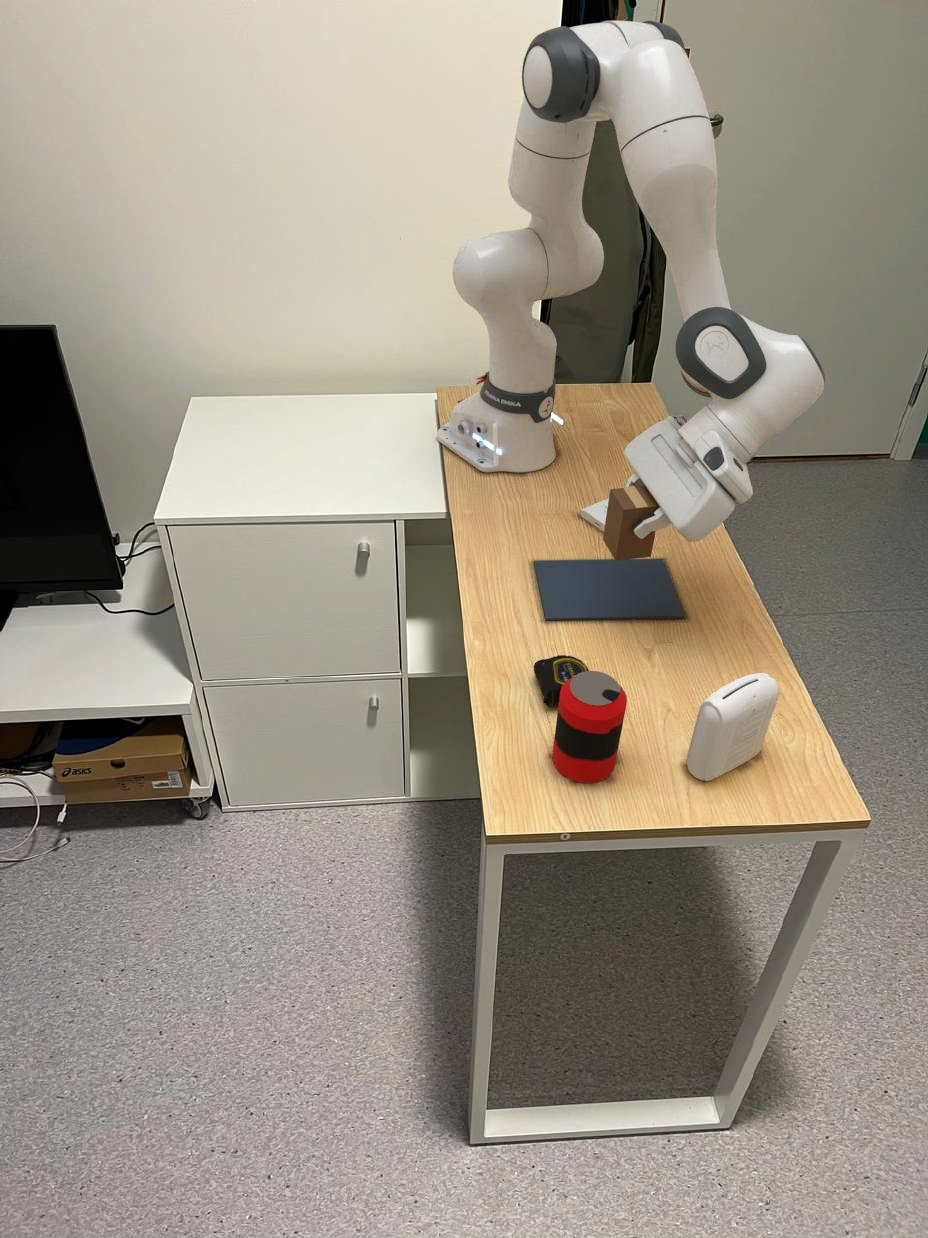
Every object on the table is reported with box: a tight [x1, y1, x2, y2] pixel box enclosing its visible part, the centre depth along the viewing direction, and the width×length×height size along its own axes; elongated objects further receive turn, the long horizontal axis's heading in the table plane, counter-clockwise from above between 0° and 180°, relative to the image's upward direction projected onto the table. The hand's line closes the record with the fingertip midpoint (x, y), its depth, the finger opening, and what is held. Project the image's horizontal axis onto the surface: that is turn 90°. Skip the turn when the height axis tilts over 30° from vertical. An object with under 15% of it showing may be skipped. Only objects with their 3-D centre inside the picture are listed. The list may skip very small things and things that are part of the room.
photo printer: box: [685, 672, 780, 782], centre depth 112 cm, size 10×4×12 cm, turn 123°
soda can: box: [551, 670, 628, 784], centre depth 112 cm, size 8×8×12 cm
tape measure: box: [533, 654, 590, 707], centre depth 124 cm, size 7×7×4 cm
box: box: [602, 486, 660, 561], centre depth 126 cm, size 5×5×8 cm
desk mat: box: [533, 558, 686, 622], centre depth 142 cm, size 20×14×1 cm
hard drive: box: [579, 497, 609, 533], centre depth 157 cm, size 2×8×12 cm
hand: (626, 520), depth 126 cm, fingers closed on box, 5 cm apart
